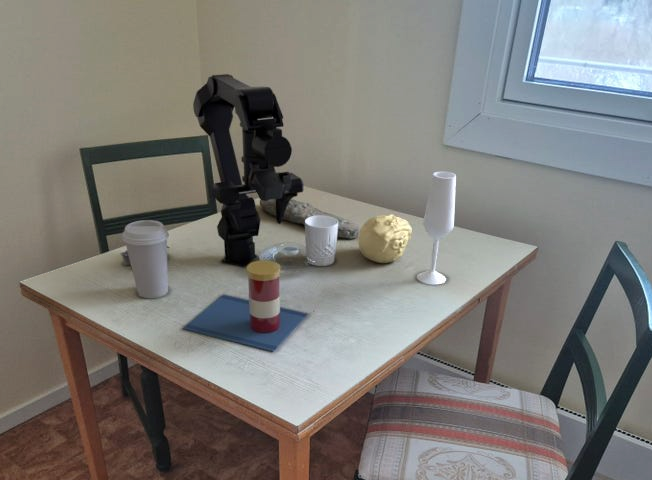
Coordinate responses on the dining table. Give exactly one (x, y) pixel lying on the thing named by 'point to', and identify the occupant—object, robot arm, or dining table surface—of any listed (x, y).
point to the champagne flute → (439, 219)
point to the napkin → (242, 323)
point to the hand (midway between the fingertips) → (259, 226)
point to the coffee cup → (148, 256)
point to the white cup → (321, 239)
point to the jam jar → (264, 296)
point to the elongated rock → (302, 211)
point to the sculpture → (384, 238)
